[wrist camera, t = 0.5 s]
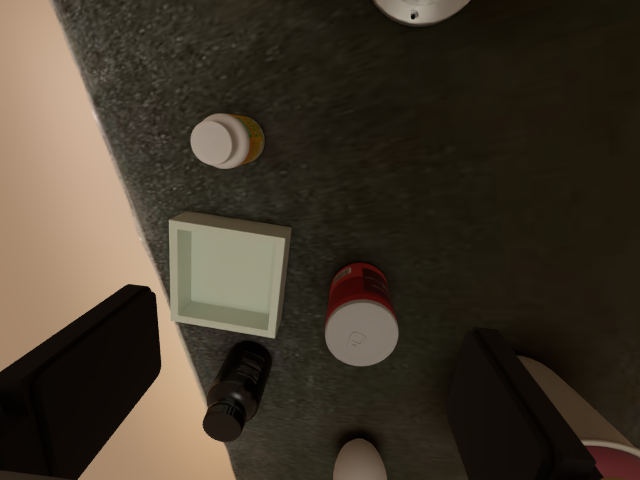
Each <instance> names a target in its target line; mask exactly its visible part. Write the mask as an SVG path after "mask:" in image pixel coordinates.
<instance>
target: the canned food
mask: <svg viewBox="0 0 640 480" xmlns="http://www.w3.org/2000/svg"><path fill="white" fill-rule="evenodd" d="M325 338H326V343H327V346H328V348H329V350H330V351H331V352H332V354H333V355H334V356H335V357H336V358H338V359H339V360H341V361H342V362H344V363H347V364H350V365H355V366H368V365H373V364H375V363H378V362H380V361H382V360H384V359H385V358H386V357H387V356H389V355H390V353H391V352H392V351H393V350H394V348H395V346H396V344H397V340H398V325H397V320H396V315H395V311H394V307H393V303H392V299H391V295H390V292H389V288H388V284H387V281H386V278H385V276H384V275H383V274H382V272H381V271H380V270H378V269H377V268H376V267H374V266H372V265H370V264H367V263H353V264H349V265H347V266H345V267H344V268H342V269H341V270H340V271H339V272H338V273H337V274H336V275H335V277H334V278H333V280H332V283H331V287H330V294H329V302H328V310H327V317H326V327H325Z"/></svg>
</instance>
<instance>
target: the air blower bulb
mask: <svg viewBox="0 0 640 480" xmlns="http://www.w3.org/2000/svg"><path fill="white" fill-rule="evenodd" d="M333 480H387V476H386V471H385V468H384V465H383V462H382V459H381V457H380V455H379V453H378V452H377V450H376V449H375V447H374V446H373V445H372V444H371V443H370V442H368V441H366V440H364V439H354V440H351V441H349V442H347V443H346V444H345V445H344V446H343V448H342V449H341V451H340V452H339V454H338V457H337V459H336V463H335V467H334V474H333Z"/></svg>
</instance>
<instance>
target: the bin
mask: <svg viewBox="0 0 640 480" xmlns="http://www.w3.org/2000/svg"><path fill="white" fill-rule="evenodd" d="M291 230H292V227H287V226H280V225H274V224H267V223H261V222H255V221H248V220H242V219H236V218H229V217H223V216H217V215H210V214H204V213H198V212H191V211H185V212H184V213H182V214H180V215H178V216H176V217H174V218H172V219H170V220H169V247H170V297H171V321H176V322H182V323H188V324H194V325H200V326H206V327H212V328H218V329H223V330H229V331H235V332H241V333H247V334H253V335H259V336H264V337H270V338H275V336H276V333H277V330H278V327H279V325H280V322H281V318H282V309H283V301H284V292H285V283H286V274H287V265H288V256H289V247H290V238H291Z"/></svg>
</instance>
